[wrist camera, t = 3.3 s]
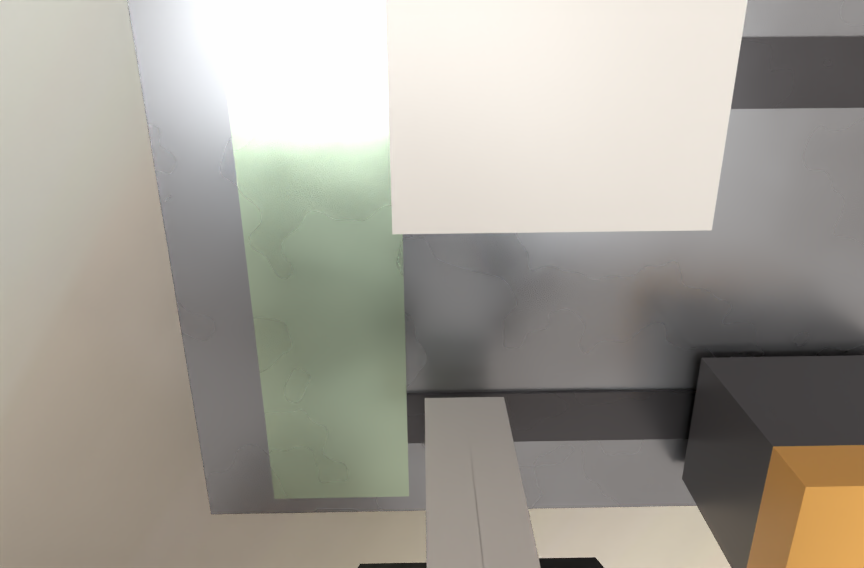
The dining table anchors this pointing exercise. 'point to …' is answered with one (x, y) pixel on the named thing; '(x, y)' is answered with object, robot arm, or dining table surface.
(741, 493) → the block
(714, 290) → the panel
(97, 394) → the dining table surface
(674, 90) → the block
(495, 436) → the robot arm
